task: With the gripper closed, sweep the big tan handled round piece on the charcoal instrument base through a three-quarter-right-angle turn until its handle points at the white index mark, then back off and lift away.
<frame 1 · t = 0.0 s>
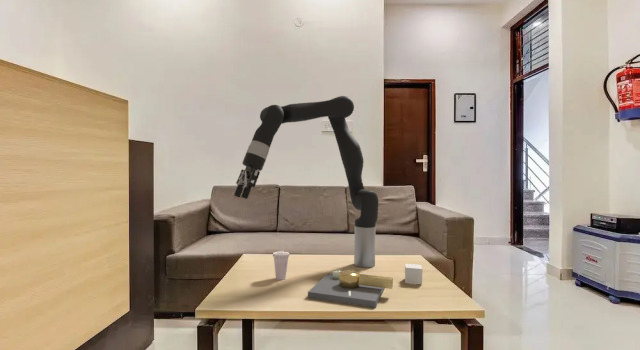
hand: (240, 197, 119), 31 cm above the table, tool tilted 20°, fingers open, 8 cm apart
adhesive note: (413, 282, 126), on the table
tan handled round piece: (365, 280, 113), point 4 cm above the table, hinge at 0.0°
smoothie: (280, 278, 128), on the table
instrument base: (349, 291, 115), on the table
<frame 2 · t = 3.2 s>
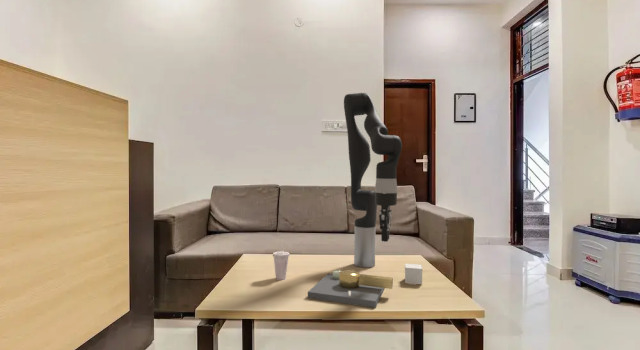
hand: (385, 240, 118), 17 cm above the table, tool pointing down, fingers closed
nothing on the table moved.
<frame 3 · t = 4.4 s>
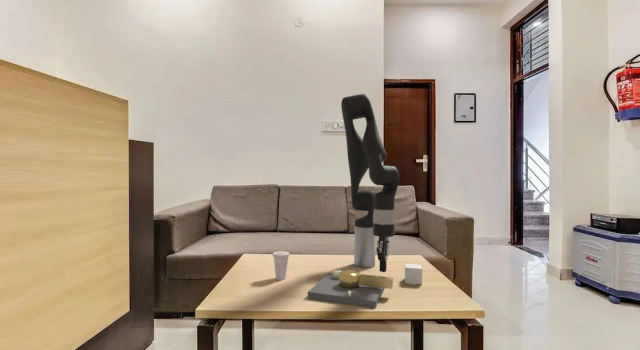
hand: (382, 271, 118), 6 cm above the table, tool pointing down, fingers closed
nothing on the table moved.
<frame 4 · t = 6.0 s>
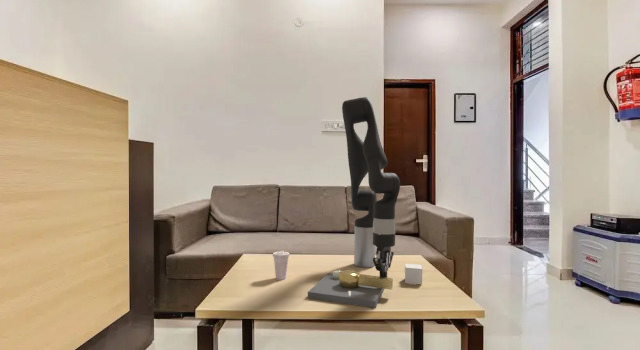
hand: (383, 282, 114), 4 cm above the table, tool pointing down, fingers closed
tan handled round piece: (365, 281, 113), point 4 cm above the table, hinge at 2.3°, touching gripper
everything else where it was.
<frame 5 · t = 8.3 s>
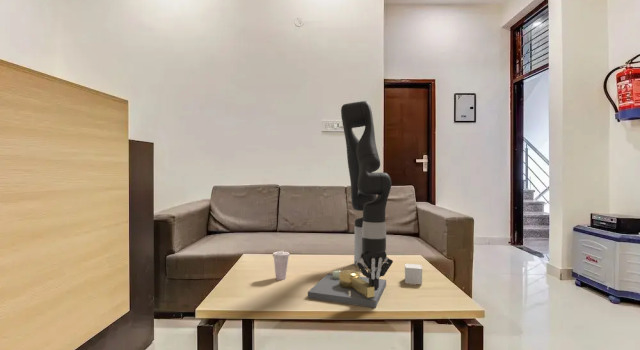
hand: (373, 289, 106), 4 cm above the table, tool pointing down, fingers closed
tan handled round piece: (356, 283, 110), point 4 cm above the table, hinge at 49.2°, touching gripper
everything else where it was.
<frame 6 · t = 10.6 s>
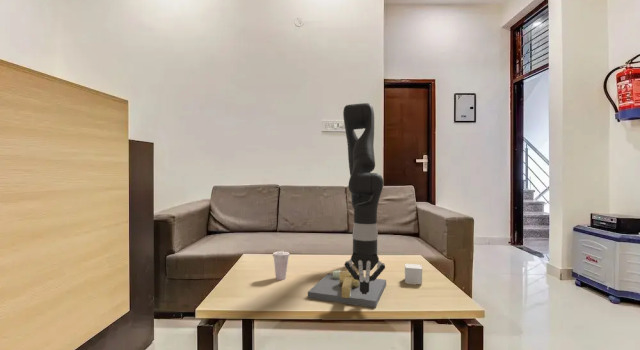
hand: (364, 293, 103), 4 cm above the table, tool pointing down, fingers closed
tan handled round piece: (348, 284, 109), point 4 cm above the table, hinge at 80.3°
everything else where it was.
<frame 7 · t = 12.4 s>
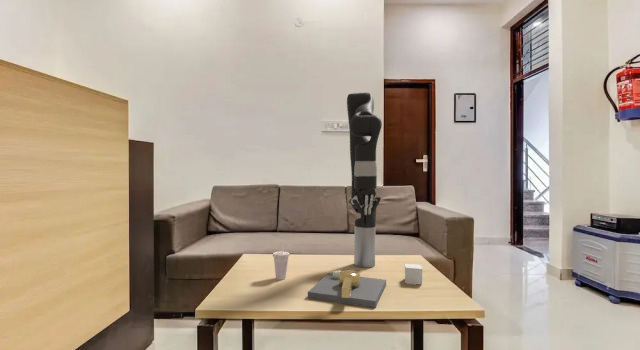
hand: (365, 225, 114), 23 cm above the table, tool pointing down, fingers closed
nothing on the table moved.
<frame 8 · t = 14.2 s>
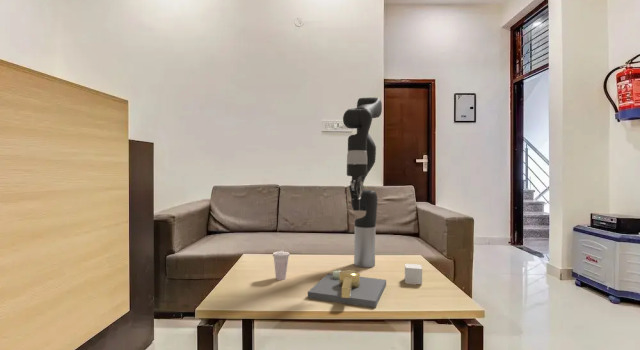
hand: (356, 210, 123), 27 cm above the table, tool pointing down, fingers closed
nothing on the table moved.
at the end: tan handled round piece at +80° (first picture: +0°) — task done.
